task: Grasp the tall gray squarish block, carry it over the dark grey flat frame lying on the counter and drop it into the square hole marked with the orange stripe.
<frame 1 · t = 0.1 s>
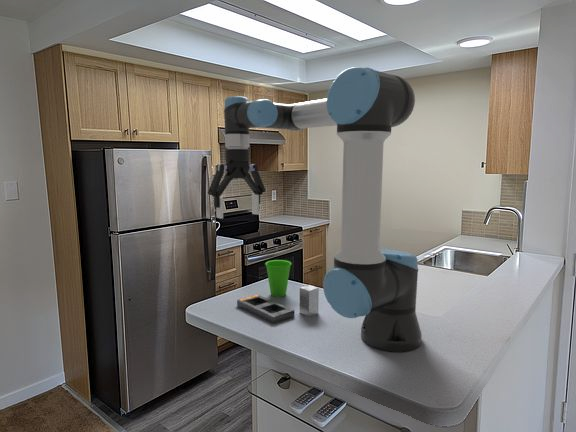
hand: (238, 216, 125), 28 cm above the countertop, fingers open, 13 cm apart
cup: (278, 294, 135), on the countertop
gray squarish block: (308, 313, 118), on the countertop
dark grey flat frame: (264, 311, 120), on the countertop
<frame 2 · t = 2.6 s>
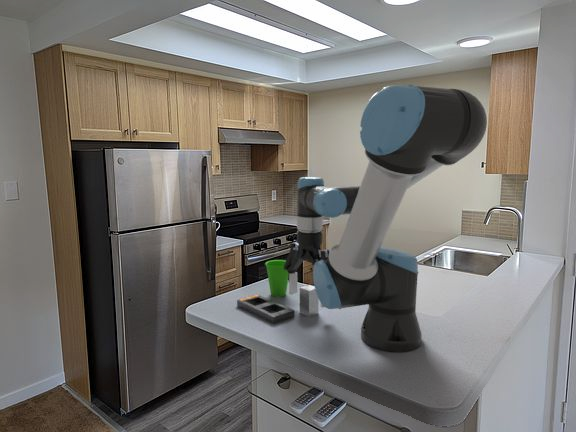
hand: (308, 299, 118), 4 cm above the countertop, fingers open, 13 cm apart
nothing on the countertop moved.
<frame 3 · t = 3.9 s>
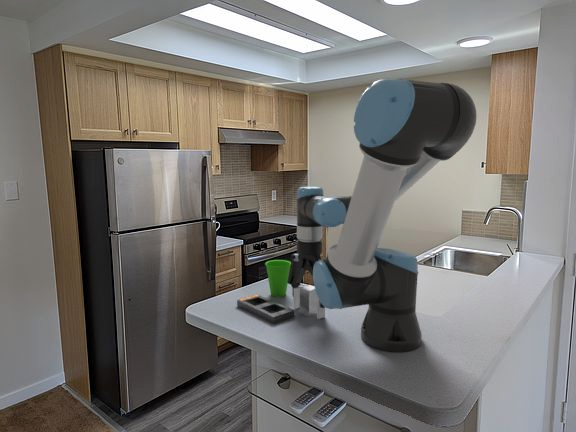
hand: (308, 312, 118), 0 cm above the countertop, fingers open, 9 cm apart
nothing on the countertop moved.
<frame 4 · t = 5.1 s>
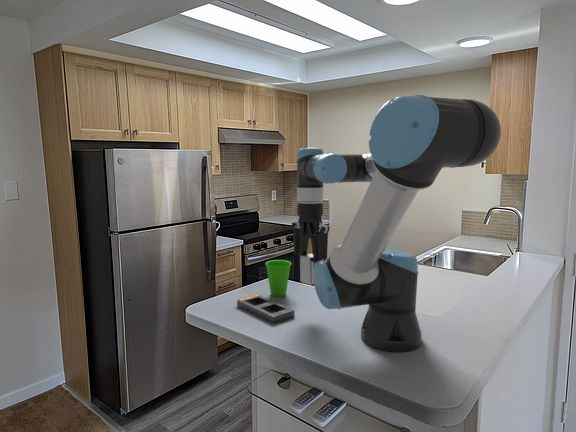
hand: (309, 280, 116), 10 cm above the countertop, fingers closed on gray squarish block, 4 cm apart
gray squarish block: (310, 281, 116), point 10 cm above the countertop, touching gripper
everything else where it was.
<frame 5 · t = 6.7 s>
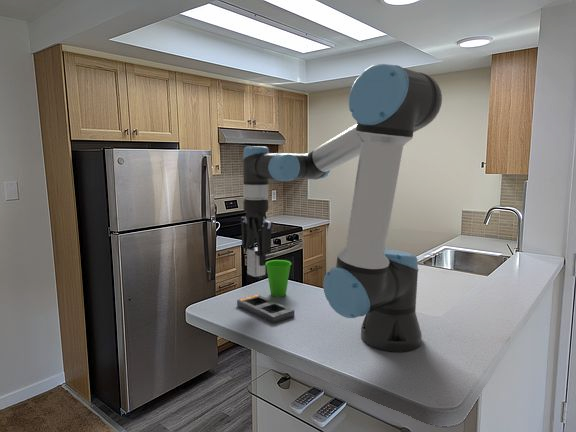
hand: (255, 273, 121), 11 cm above the countertop, fingers closed on gray squarish block, 4 cm apart
gray squarish block: (256, 274, 122), point 11 cm above the countertop, touching gripper
everything else where it was.
when the fingers open (3 cm above the countertop, at t = 8.4 s): gray squarish block drops 2 cm, resting in dark grey flat frame.
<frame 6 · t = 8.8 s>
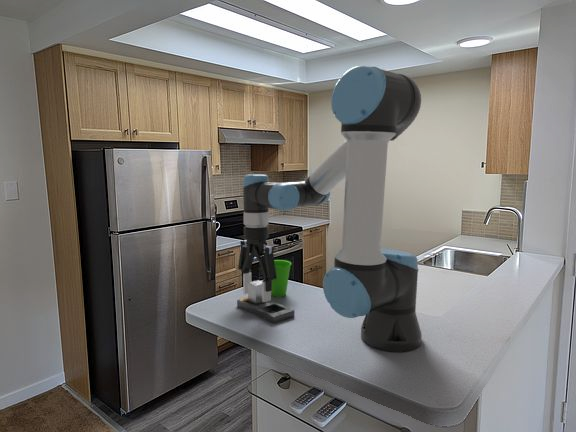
hand: (256, 296, 122), 4 cm above the countertop, fingers open, 9 cm apart
gray squarish block: (257, 307, 123), resting in dark grey flat frame
everything else where it was.
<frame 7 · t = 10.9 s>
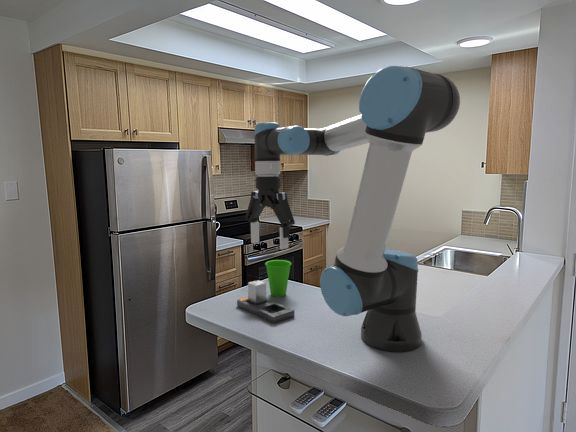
hand: (269, 245, 120), 20 cm above the countertop, fingers open, 13 cm apart
nothing on the countertop moved.
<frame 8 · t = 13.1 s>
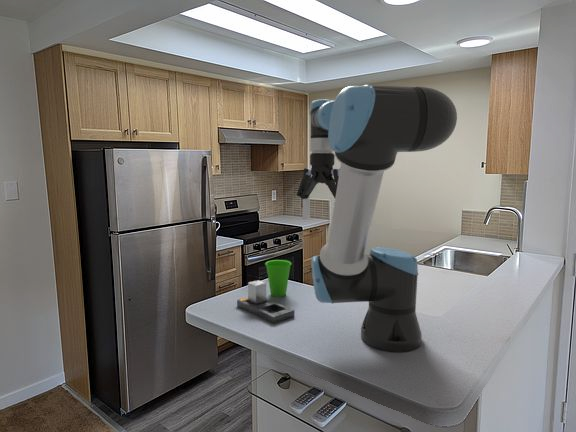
hand: (321, 221, 123), 27 cm above the countertop, fingers open, 13 cm apart
nothing on the countertop moved.
at the end: gray squarish block 0.1 cm from the target spot on the dark grey flat frame, point 0.0 cm above the dark grey flat frame's base; gray squarish block tilted 0°; the gripper is holding nothing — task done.
